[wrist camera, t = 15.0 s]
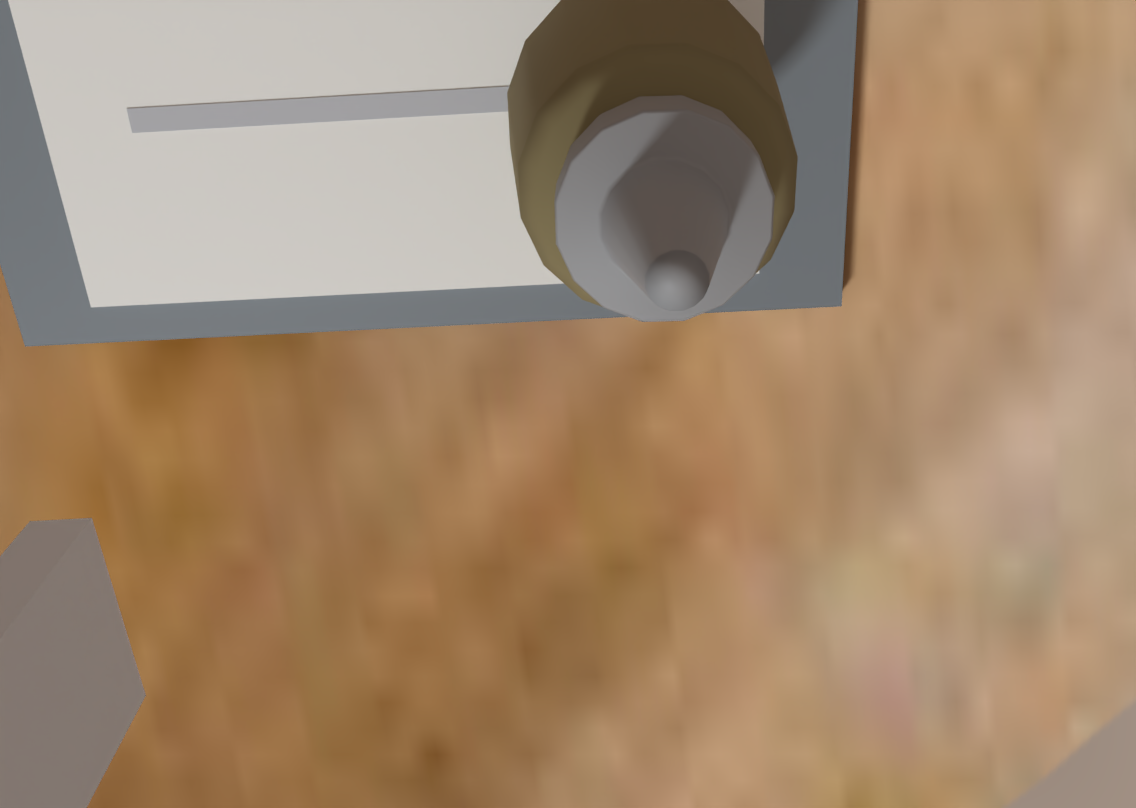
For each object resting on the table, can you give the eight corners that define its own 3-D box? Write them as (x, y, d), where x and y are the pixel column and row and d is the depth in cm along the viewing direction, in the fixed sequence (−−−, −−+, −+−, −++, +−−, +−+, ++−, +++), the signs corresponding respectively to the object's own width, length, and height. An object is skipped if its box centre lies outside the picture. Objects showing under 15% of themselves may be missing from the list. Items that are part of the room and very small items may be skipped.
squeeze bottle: (533, -62, 34) (481, 3, 17) (788, -15, 34) (969, 91, 18) (497, 192, 37) (427, 442, 21) (729, 231, 38) (835, 506, 21)
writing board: (34, 338, 41) (20, 349, 40) (-106, -135, 34) (-128, -135, 33) (837, 298, 40) (843, 309, 39) (862, -201, 33) (871, -204, 32)
